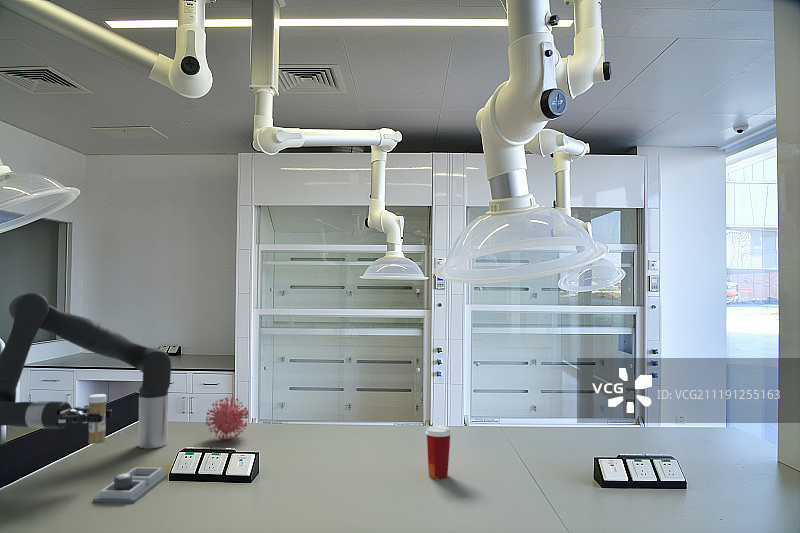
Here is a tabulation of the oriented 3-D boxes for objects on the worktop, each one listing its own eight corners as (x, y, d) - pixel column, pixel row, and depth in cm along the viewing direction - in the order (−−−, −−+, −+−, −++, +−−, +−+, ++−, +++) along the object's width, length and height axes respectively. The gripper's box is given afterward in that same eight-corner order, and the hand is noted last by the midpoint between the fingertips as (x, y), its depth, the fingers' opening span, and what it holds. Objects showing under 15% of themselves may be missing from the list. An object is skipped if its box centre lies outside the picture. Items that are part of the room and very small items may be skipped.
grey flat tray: (130, 475, 168) (130, 457, 168) (167, 476, 168) (167, 458, 168) (92, 501, 149) (93, 481, 149) (134, 502, 149) (134, 482, 149)
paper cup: (454, 473, 173) (455, 427, 173) (445, 481, 166) (446, 433, 166) (430, 469, 176) (430, 424, 176) (420, 477, 169) (421, 430, 169)
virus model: (207, 434, 212) (207, 394, 212) (248, 432, 215) (249, 392, 216) (203, 446, 198) (204, 403, 198) (247, 443, 201) (248, 401, 201)
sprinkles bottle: (106, 442, 164) (107, 395, 164) (88, 445, 161) (89, 397, 161) (104, 438, 167) (105, 392, 168) (86, 441, 165) (87, 394, 165)
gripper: (32, 407, 158) (92, 408, 157) (64, 396, 172) (120, 397, 171) (31, 434, 158) (92, 436, 157) (63, 421, 172) (119, 422, 171)
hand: (106, 416), depth 164 cm, fingers closed on sprinkles bottle, 4 cm apart
